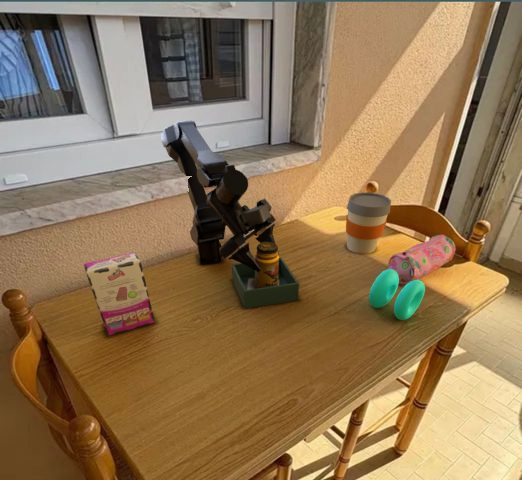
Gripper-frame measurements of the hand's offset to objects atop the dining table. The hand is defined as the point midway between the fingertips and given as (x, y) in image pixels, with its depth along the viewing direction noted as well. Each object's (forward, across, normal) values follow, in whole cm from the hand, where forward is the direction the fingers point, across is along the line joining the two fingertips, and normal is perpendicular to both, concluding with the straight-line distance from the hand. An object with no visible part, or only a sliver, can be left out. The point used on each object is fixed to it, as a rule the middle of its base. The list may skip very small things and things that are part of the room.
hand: (269, 263), depth 96 cm
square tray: (+5, 0, +7) cm, 8 cm away
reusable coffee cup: (+15, +38, -3) cm, 41 cm away
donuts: (+28, +8, -16) cm, 33 cm away
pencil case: (+29, +30, -17) cm, 45 cm away
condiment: (+4, 0, +7) cm, 8 cm away
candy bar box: (-9, -29, +21) cm, 37 cm away
